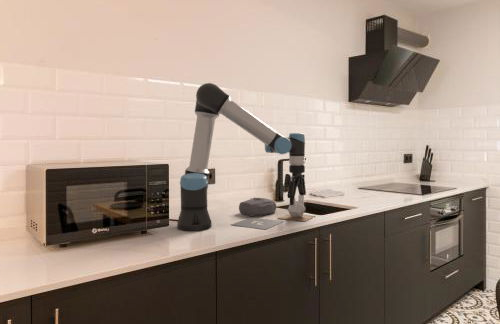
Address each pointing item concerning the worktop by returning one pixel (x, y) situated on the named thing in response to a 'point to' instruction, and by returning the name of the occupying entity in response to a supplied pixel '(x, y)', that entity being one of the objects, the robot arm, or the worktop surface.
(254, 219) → the tile
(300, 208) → the die
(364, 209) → the worktop surface
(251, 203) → the grey rounded bag
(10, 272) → the worktop surface
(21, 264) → the worktop surface
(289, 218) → the walnut pad
